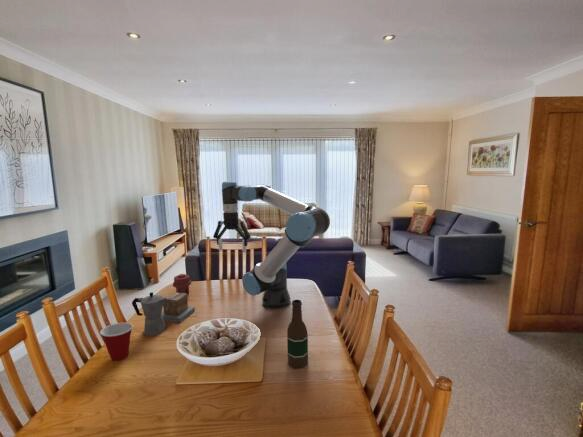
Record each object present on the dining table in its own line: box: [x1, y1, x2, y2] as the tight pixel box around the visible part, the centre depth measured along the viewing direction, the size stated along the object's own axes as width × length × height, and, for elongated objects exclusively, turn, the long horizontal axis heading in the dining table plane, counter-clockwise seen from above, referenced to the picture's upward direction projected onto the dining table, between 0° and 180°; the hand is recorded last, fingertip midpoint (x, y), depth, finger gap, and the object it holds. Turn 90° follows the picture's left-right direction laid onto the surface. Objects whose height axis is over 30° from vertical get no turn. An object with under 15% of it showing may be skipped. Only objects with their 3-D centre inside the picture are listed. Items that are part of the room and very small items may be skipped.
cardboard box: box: [162, 291, 189, 316], centre depth 143 cm, size 8×8×8 cm
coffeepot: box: [131, 292, 167, 337], centre depth 129 cm, size 15×9×18 cm, turn 92°
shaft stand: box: [162, 306, 196, 323], centre depth 144 cm, size 13×12×8 cm
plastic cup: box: [99, 322, 134, 362], centre depth 111 cm, size 11×11×12 cm
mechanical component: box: [172, 273, 192, 296], centre depth 167 cm, size 12×10×10 cm
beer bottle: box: [286, 299, 309, 369], centre depth 105 cm, size 8×8×24 cm
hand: (232, 251), depth 153 cm, fingers open, 13 cm apart
